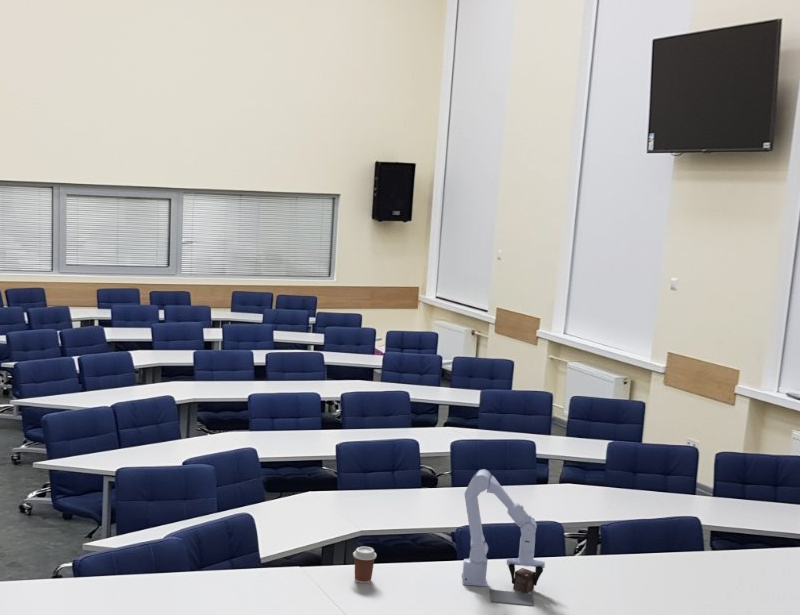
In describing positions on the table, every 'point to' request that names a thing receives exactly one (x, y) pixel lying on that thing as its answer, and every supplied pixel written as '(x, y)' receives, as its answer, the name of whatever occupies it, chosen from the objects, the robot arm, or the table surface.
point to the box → (524, 580)
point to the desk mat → (511, 597)
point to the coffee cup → (364, 564)
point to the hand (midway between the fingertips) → (523, 583)
